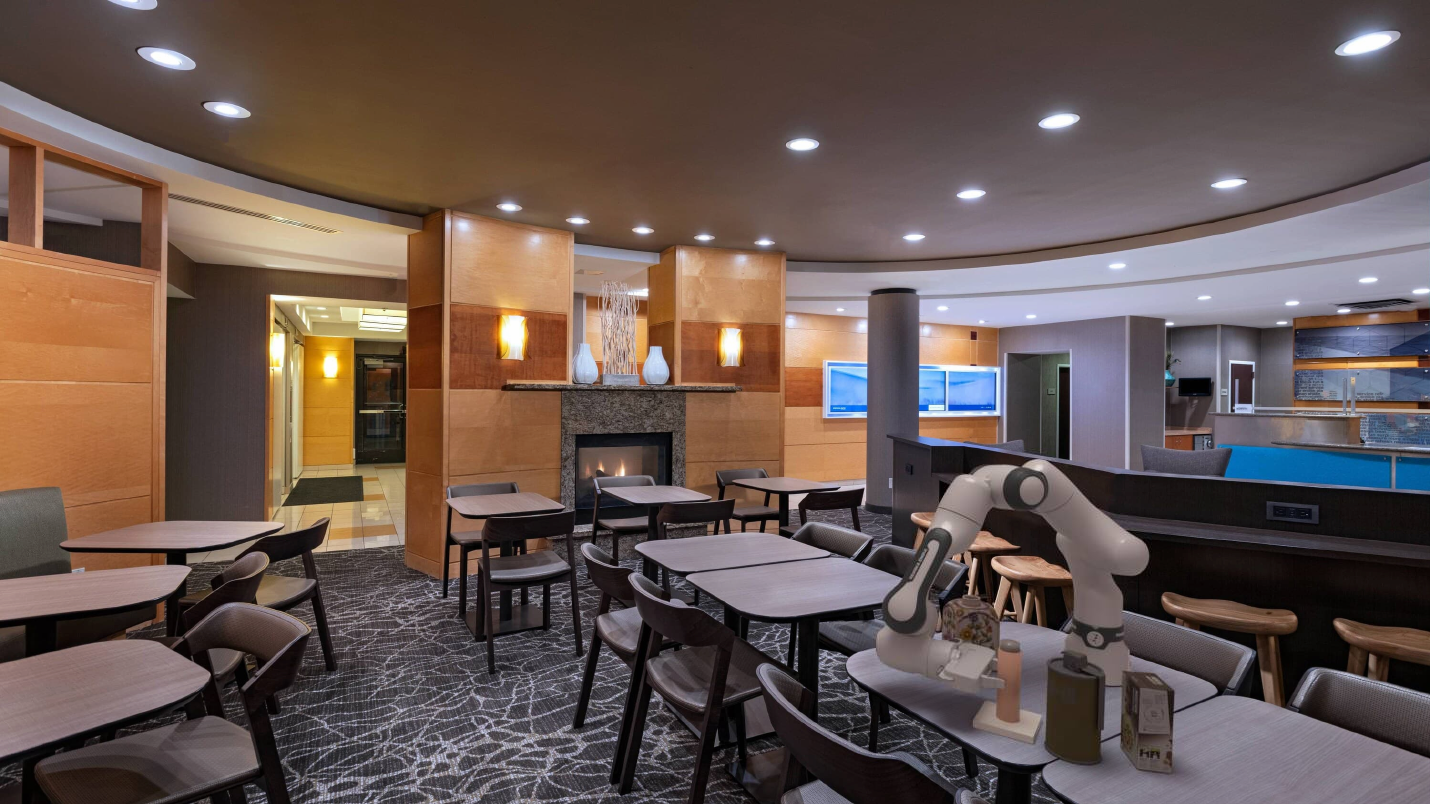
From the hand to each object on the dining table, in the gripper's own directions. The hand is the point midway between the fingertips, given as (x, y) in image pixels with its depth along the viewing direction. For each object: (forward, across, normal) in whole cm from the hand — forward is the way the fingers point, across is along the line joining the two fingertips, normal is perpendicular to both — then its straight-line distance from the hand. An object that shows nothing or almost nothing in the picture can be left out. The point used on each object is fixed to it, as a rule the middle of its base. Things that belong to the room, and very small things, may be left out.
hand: (1009, 676), depth 150 cm
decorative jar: (-16, +31, +11) cm, 36 cm away
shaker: (0, 0, +9) cm, 9 cm away
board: (0, 0, +11) cm, 11 cm away
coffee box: (+25, +1, +11) cm, 28 cm away
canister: (+13, -4, +11) cm, 18 cm away
